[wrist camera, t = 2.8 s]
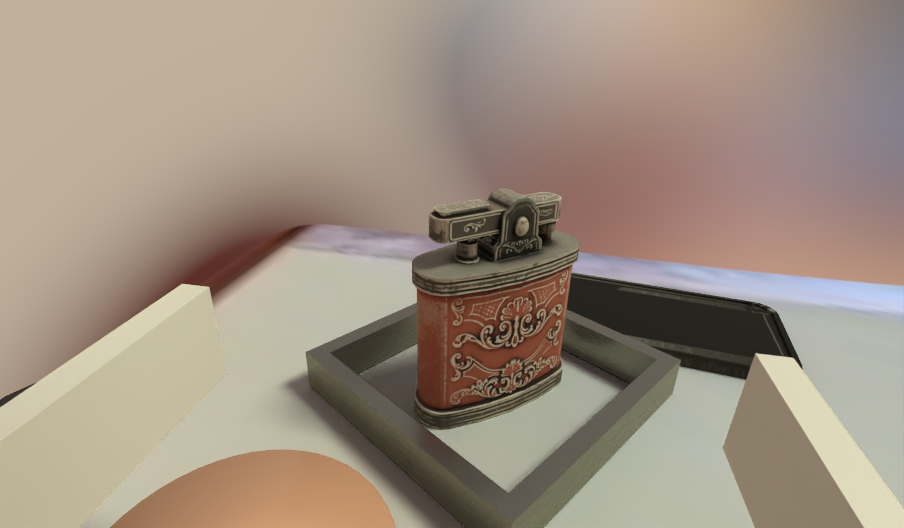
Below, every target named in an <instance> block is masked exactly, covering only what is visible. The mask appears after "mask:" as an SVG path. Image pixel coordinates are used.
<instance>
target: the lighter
mask: <svg viewBox="0 0 904 528" xmlns="http://www.w3.org/2000/svg"><path fill="white" fill-rule="evenodd" d="M560 207H561V197H560V196H558V195H556V194H553V193H549V192H540V193H534V194H528V195H521V194H518V193H516V192H514V191H512V190H510V189H507V188H501V189H496V190H495V191H493V192H492V193H491V194H490V196H489V198H488V200H487V201H486V202H483V201H482V200H479V199H476V200H470V201H464V202H458V203H452V204H446V205H441V206H435V207H434V211H431V212H430V213H429V238H430V239H431V240H433V241H434V242H436V243H440V244H448V243H454V242H457V244H453V245H449V246H446V247H443V248H440V249H436V250H433V251H430V252H427V253H424V254H421V255H419V256H417V257H415V259H414V260H413V261H412V282H413V284H414V285H415V287H416V288H417V337H418V385H417V386H416V388H415V390H414V404H415V413H416V415H417V418H418V419H419V420H420V421H421V422H422V423H423V424H425V425H427V426H429V427H431V428H436V429H451V428H455V427H459V426H463V425H468V424H472V423H476V422H480V421H484V420H487V419H489V418H492V417H495V416H498V415H501V414H504V413H507V412H510V411H513V410H515V409H517V408H519V407H521V406H523V405H525V404H527V403H529V402H531V401H533V400H535V399H537V398H539V397H540V396H542V395H543V394H545V393H546V392H548V391H550V390H551V389H553V388H554V387H556V386H557V385H558V384H559V383H560V382H561V375H562V368H563V361H562V359H561V357H560V355H561V347H562V340H563V332H564V325H565V317H566V310H567V302H568V295H569V287H570V280H571V272H572V264H574V263H575V262H577V259H578V251H579V244H580V242H579V241H578V240H577V238H575V237H573V236H572V235H570V234H567V233H564V232H560V231H556V230H554V229H555V224H556V221H558V220H559V216H560ZM475 238H476V239H475Z"/></svg>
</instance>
